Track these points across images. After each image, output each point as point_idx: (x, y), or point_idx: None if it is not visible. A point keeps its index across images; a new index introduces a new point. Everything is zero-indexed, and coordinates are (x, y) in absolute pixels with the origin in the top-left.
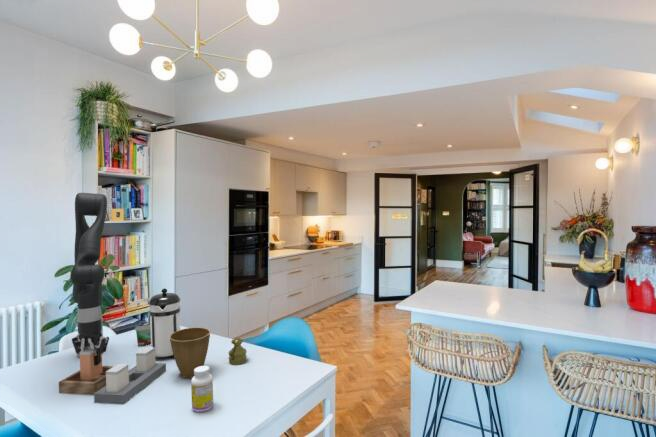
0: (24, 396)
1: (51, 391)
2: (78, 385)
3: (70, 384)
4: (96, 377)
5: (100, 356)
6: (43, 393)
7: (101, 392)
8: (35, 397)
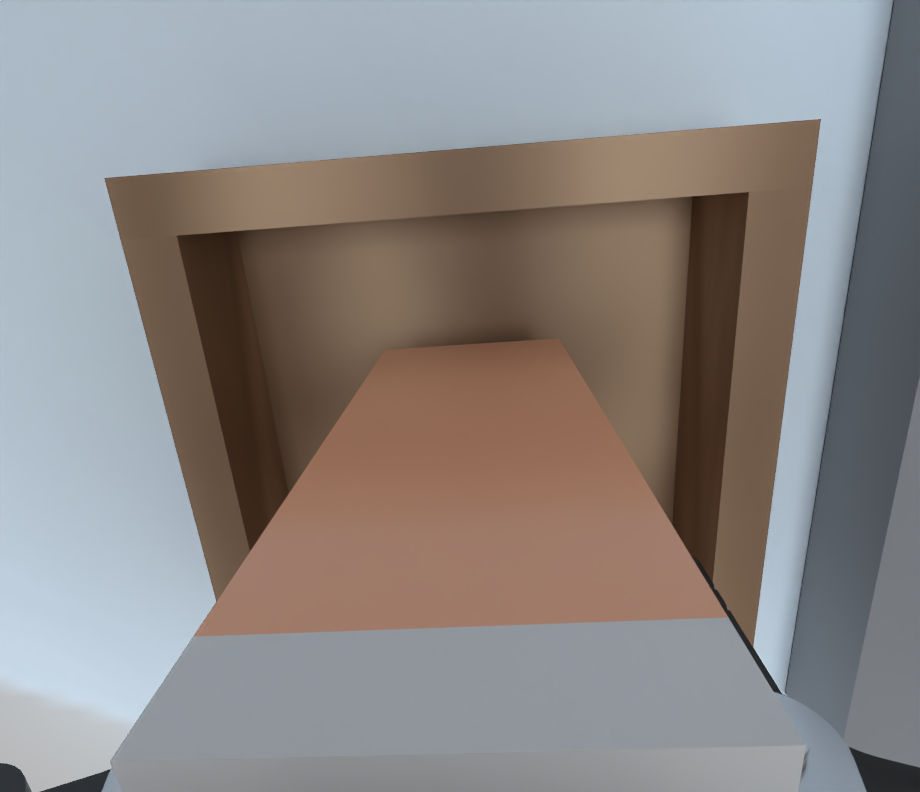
0: (39, 688)
1: (179, 591)
2: None
3: None
4: (431, 307)
5: (758, 665)
6: (146, 629)
7: (909, 749)
8: (157, 689)
